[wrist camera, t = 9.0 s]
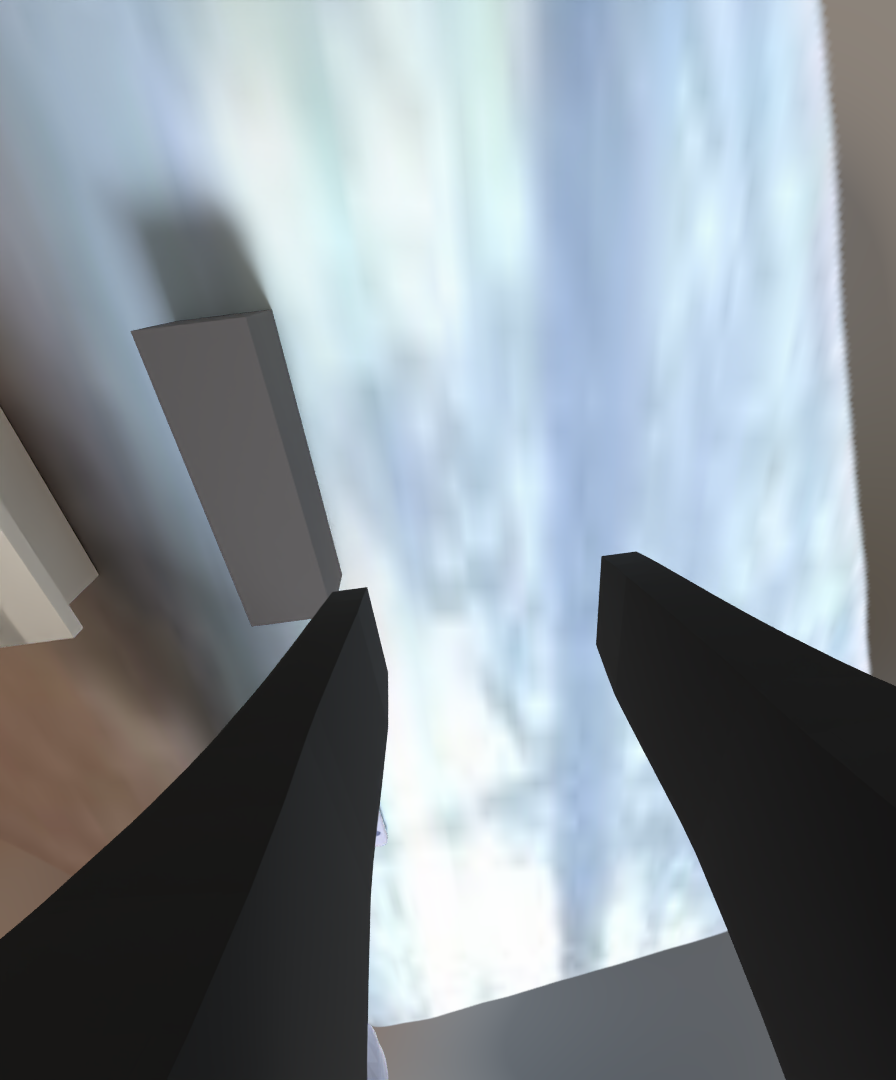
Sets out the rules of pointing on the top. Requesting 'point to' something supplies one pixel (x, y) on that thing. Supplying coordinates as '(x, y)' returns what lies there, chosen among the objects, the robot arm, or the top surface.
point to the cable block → (246, 458)
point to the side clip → (35, 553)
